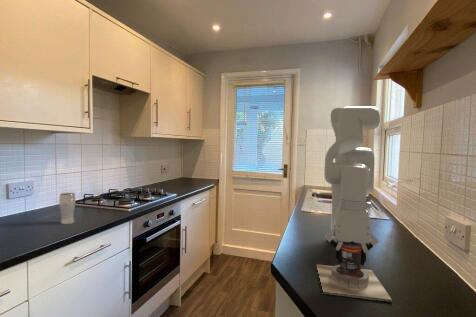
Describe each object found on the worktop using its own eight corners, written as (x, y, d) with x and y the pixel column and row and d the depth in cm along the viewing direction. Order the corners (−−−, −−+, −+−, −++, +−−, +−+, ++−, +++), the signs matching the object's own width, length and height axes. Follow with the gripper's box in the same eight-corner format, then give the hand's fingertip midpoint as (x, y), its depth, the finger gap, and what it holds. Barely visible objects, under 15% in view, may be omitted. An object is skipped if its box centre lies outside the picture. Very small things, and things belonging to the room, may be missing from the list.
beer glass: (73, 223, 137) (73, 194, 136) (57, 225, 134) (57, 195, 134) (76, 220, 143) (76, 192, 143) (61, 221, 141) (61, 192, 140)
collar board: (316, 267, 94) (316, 257, 94) (371, 272, 91) (371, 262, 91) (322, 294, 76) (323, 282, 76) (391, 302, 73) (392, 290, 73)
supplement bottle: (354, 267, 86) (356, 233, 86) (364, 276, 81) (365, 239, 80) (336, 267, 86) (337, 232, 86) (344, 276, 80) (346, 239, 80)
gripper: (378, 204, 85) (376, 260, 85) (322, 201, 88) (319, 255, 89) (387, 209, 77) (384, 271, 78) (325, 205, 80) (322, 265, 81)
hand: (350, 262), depth 83 cm, fingers closed on supplement bottle, 5 cm apart
